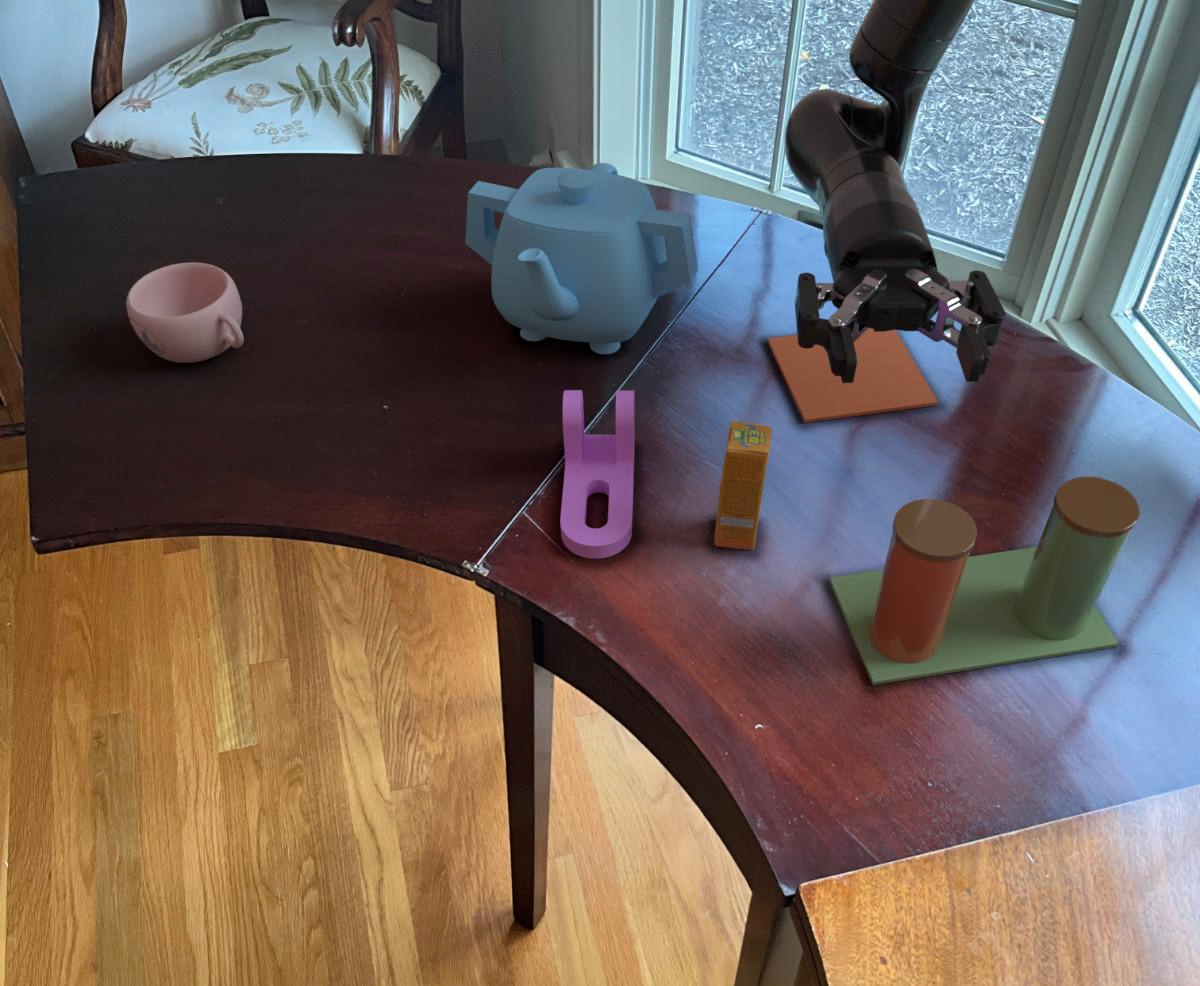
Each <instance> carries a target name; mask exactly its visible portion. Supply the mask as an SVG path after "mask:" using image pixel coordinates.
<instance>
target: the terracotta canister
mask: <svg viewBox="0 0 1200 986" xmlns="http://www.w3.org/2000/svg"><path fill="white" fill-rule="evenodd" d="M975 522H976V521H974V519H973V518H972V516H971V515H970V514H969V513H968V512H966V510H965V509H964V508H962V507H960V506H958V505H956V504H954V503H952V502H949V501H946V500H942V499H936V498H920V499H915V500H912V501H909V502H908V503H906V504H904V505H902V506H901V507H900V508H899V509H898V510H897V512H896V513H895V515H894V518H893V522H892V532H891V536H890V541H889V544H888V545H889V546H888V550H887V554H886V557H885V561H884V566H883V568H882V570H883V574H882V578H881V582H880V586H879V590H878V594H877V598H876V602H875V606H874V610H873V615H872V619H871V623H870V627H869V637H870V640H871V642H872V644H873V645H874V647H875V648H876V649H877V650H878V651H879V652H880V653H881V654H883V655H884V656H886V657H887V658H889V659H892V660H894V661H898V662H902V663H918V662H922V661H925V660H927V659H929V658H930V657H932V656H933V655H934V654H935V653H936V652H937V650H938V649H939V646H940V643H941V640H942V637H943V634H944V631H945V628H946V625H947V621H948V618H949V615H950V612H951V609H952V606H953V603H954V600H955V597H956V594H957V591H958V588H959V584H960V581H961V578H962V575H963V572H964V569H965V566H966V563H967V560H968V557H970V554H971V551H972V550H973V548H974V547H975V543H976V541H977V538H978V529H977V524H976V523H975Z"/></svg>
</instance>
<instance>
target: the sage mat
mask: <svg viewBox="0 0 1200 986" xmlns="http://www.w3.org/2000/svg"><path fill="white" fill-rule="evenodd" d="M1036 548H1037V546H1033V547H1026V548H1019V549H1013V550H1006V551H999V552H991V553H986V554H978V555H972V556H969V557H968V560H967V563H966V566H965V569H964V572H963V575H962V578H961V581H960V584H959V588H958V591H957V594H956V597H955V600H954V603H953V606H952V609H951V612H950V615H949V618H948V621H947V625H946V628H945V631H944V634H943V637H942V640H941V643H940V646H939V649H938V650H937V652H936V653H935V654H934V655H933V656H932V657H930V658H929V659H927V660H925V661H922V662H918V663H902V662H898V661H894V660H892V659H889V658H887V657H886V656H884V655H883V654H881V653H880V652H879V651H878V650H877V649H876V648H875V647H874V645H873V644H872V642H871V640H870V637H869V627H870V623H871V619H872V615H873V610H874V606H875V602H876V598H877V594H878V590H879V586H880V582H881V578H882V574H883V569H876V570H871V571H863V572H857V573H849V574H842V575H837V576H836V575H835V576H830V577H829V578H828V582H829V585H830V587H831V590H832V591H833V594H834V596H835V600H836V601H837V605H838V606H839V608H840V611H841V613H842V617H843V618H844V620H845V622H846V625H847V627H848V630H849V632H850V635H851V637H852V639H853V642H854V644H855V646H856V649H857V652H858V654H859V657H860V659H861V661H862V663H863V666H864V668H865V670H866V673H867V675H868V678H869V680H870V683H871V684H872V686H876V685H882V684H888V683H894V682H902V681H908V680H912V679H919V678H920V679H921V678H927V677H933V676H940V675H946V674H952V673H958V672H964V671H971V670H977V669H984V668H990V667H996V666H1002V665H1003V666H1004V665H1010V664H1016V663H1023V662H1028V661H1036V660H1041V659H1047V658H1054V657H1060V656H1066V655H1074V654H1080V653H1085V652H1092V651H1099V650H1104V649H1105V650H1106V649H1111V648H1117V647H1118V646H1119V641H1118V639H1117V638H1116V637H1115V635H1114V633H1113V632H1112V630H1111V629H1110V627H1109V625H1108V624H1107V622H1106V621H1105V619H1104V617H1103V616H1102V614H1101V612H1100V611H1099V610H1098V608H1097V605H1095V608H1094V610H1093V612H1092V614H1091V616H1090V618H1089V620H1088V622H1087V625H1086V627H1085V629H1084V630H1083V631H1082V632H1081V633H1080V634H1079V635H1077V636H1075V637H1073V638H1071V639H1066V640H1052V639H1047V638H1043V637H1040V636H1038V635H1036V634H1034V633H1032V632H1031V631H1029V630H1028V629H1026V628H1025V627H1024V626H1023V625H1022V624H1021V622H1020V621H1019V620H1018V618H1017V616H1016V613H1015V603H1016V600H1017V597H1018V595H1019V592H1020V589H1021V587H1022V584H1023V582H1024V579H1025V577H1026V574H1027V571H1028V569H1029V566H1030V564H1031V561H1032V558H1033V556H1034V553H1035V551H1036Z"/></svg>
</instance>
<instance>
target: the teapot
mask: <svg viewBox="0 0 1200 986" xmlns="http://www.w3.org/2000/svg"><path fill="white" fill-rule="evenodd" d="M466 205H467V206H466V207H467V208H466V224H465V237H464V238H465V240H464V244H465V245H466V246H467V247H468V248H470V249H471V250H472V251H473V252H474V253H476V254H477V255H478V256H480V257H481V258H482V259H484V261H486V262H487V263H488V264H490V265H491V279H490V281H491V282H490V285H491V287H490V288H491V297H492V301H493V303H494V306H495V307H496V309H497V310H498V312H499V313H500V315H501V316H502V317H503V318H504V319H505V321H506V322H507V323H509V324H511V325H512V326H514V327H516V328H519V329H520V331H519V335H520V337H521V338H522V339H524V340H525V341H529V342H540V341H543V340H544V339H547V338H552V339H558V340H563V341H571V342H580V343H589V348H590V350H591V351H593V352H594V353H596V354H598V355H599V354H600V355H610V354H613V353H616V352H618V351H619V350H620V348H621V343H622V342H625V341H628V340H629V339H631V338H632V337H634V336H635V334H636V333H637V332H638V331H639V329H640V328H641V327H642V325H643V323H644V322H645V321H646V319H647V317H648V316H649V315H650V313H651V311H652V309H653V307H654V306H655V304H656V302H657V300H658V298H659V297H661V296H664V295H666V294H668V293H671V292H673V291H676V290H678V289H681V288H682V287H685V286H688V285H689V284H691V283H692V282H693V280H694V278H695V277H696V275H697V273H698V271H699V265H698V259H697V253H696V245H695V238H694V231H693V225H692V217H691V214H690V213H685V212H677V211H669V210H662V209H657V207H656V204H655V202H654V199H653V196H652V194H651V192H650V190H649V188H648V186H647V185H646V184H645V183H643V182H642V181H640V180H637V179H635V178H631V177H628V176H624V175H620V174H619V173H618V169H617V168H616V167H615V166H614V165H613V164H611V163H608V162H597V163H595V164H593V165H592V166H591V167H590V168H589V169H584V168H573V167H544V168H540V169H537V170H536V171H534V172H533V173H532V174H531V175H530V176H528V177H527V179H526V180H525V181H524V182H523V183H522V184H521V185H520V187H519V188H514V187H513V188H512V187H511V186H510V187H509V186H505V185H501V184H494V183H490V182H486V181H481V180H478V181H477V182H476V183H475V184H474V185H473V186H472V188H471V189H469V191H468V192H467V204H466ZM495 212H497V213H501V214H503V215H502V218H501V221H500V224H499V225H500V226H499V228H497V227H496V226H495ZM665 237H666V239H665Z"/></svg>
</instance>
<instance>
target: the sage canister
mask: <svg viewBox="0 0 1200 986" xmlns="http://www.w3.org/2000/svg"><path fill="white" fill-rule="evenodd" d="M1056 490H1057V491H1056V492H1055V495H1054V499H1053V504H1052V506H1051V510H1050V512H1049V515H1048V517H1047V520H1046V522H1045V525H1044V528H1043V530H1042V533H1041V535H1040V538H1039V541H1038V544H1037V545H1036V547H1037V548H1036V551H1035V553H1034V556H1033V558H1032V561H1031V564H1030V566H1029V569H1028V571H1027V574H1026V577H1025V579H1024V582H1023V584H1022V587H1021V589H1020V592H1019V595H1018V597H1017V600H1016V603H1015V613H1016V616H1017V618H1018V620H1019V621H1020V622H1021V624H1022V625H1023V626H1024V627H1025V628H1026V629H1028V630H1029V631H1031V632H1032V633H1034V634H1036V635H1038V636H1040V637H1043V638H1047V639H1052V640H1066V639H1071V638H1073V637H1075V636H1077V635H1079V634H1080V633H1081V632H1082V631H1083V630H1084V629H1085V627H1086V625H1087V622H1088V620H1089V618H1090V616H1091V614H1092V612H1093V610H1094V608H1095V606H1097V603H1098V601H1099V599H1100V597H1101V595H1102V593H1103V591H1104V589H1105V587H1106V584H1107V583H1108V580H1109V578H1110V575H1111V574H1112V572H1113V570H1114V568H1115V565H1116V563H1117V561H1118V559H1119V558H1120V557H1119V556H1120V554H1121V552H1122V550H1123V548H1124V547H1125V544H1126V542H1127V540H1128V538H1129V535H1130V534H1131V532H1132V530H1133V529H1134V528H1135V526H1136V525H1137V522H1138V520H1139V518H1140V514H1141V511H1140V510H1141V508H1140V505H1139V502H1138V500H1137V499H1136V497H1135V496H1134V495H1133V494H1132V493H1131V491H1130V490H1128V489H1127V488H1125V487H1124V486H1122V485H1121V484H1119V483H1116V482H1115V481H1112V480H1109V479H1107V478H1102V477H1098V476H1078V477H1073V478H1070V479H1068V480H1066V481H1065V482H1063V483H1062V484H1060V486H1059V487H1058V488H1057V489H1056Z"/></svg>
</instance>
